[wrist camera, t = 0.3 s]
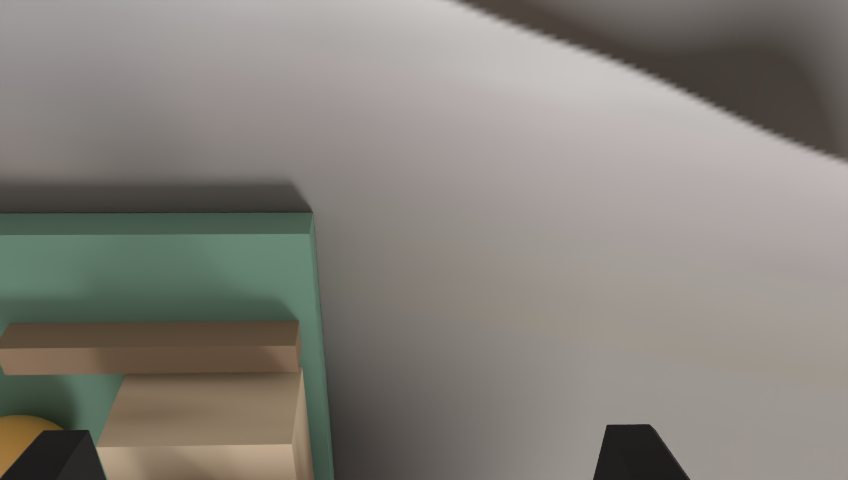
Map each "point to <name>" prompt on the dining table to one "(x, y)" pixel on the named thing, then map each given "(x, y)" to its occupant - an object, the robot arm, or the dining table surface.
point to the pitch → (156, 309)
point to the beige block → (208, 427)
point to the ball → (19, 436)
